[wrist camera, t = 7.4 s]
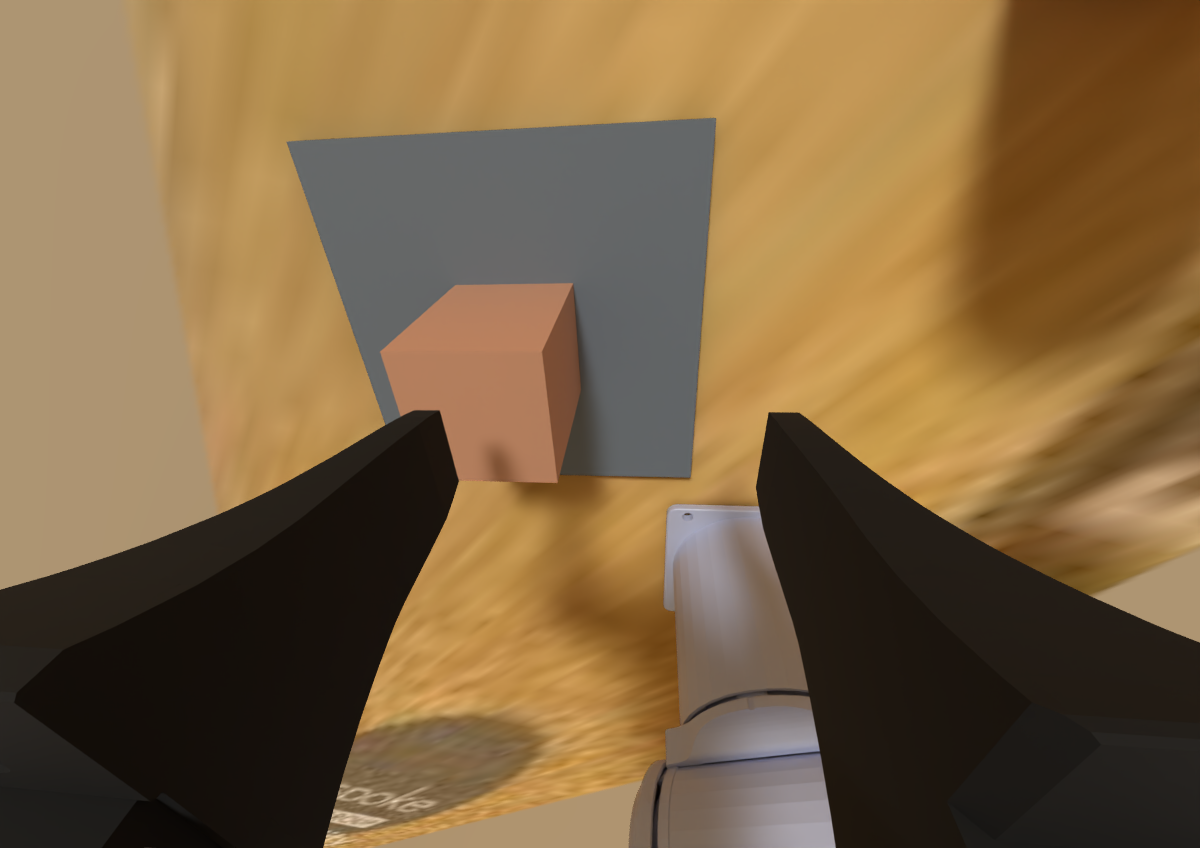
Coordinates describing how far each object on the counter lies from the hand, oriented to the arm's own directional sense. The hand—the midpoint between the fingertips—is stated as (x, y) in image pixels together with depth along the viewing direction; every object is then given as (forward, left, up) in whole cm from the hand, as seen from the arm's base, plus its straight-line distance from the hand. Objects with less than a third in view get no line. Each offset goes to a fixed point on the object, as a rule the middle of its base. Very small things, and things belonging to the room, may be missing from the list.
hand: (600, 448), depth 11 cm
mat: (+4, +1, -9) cm, 10 cm away
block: (+4, +1, -9) cm, 10 cm away
